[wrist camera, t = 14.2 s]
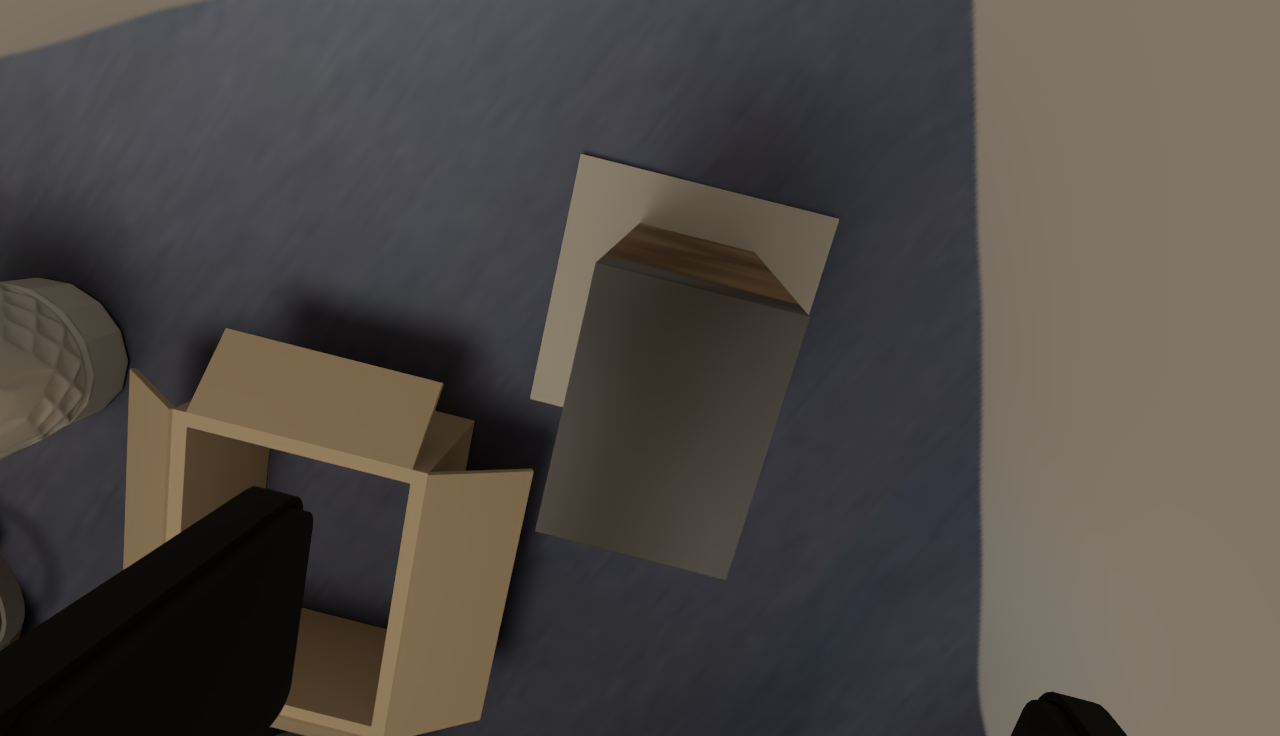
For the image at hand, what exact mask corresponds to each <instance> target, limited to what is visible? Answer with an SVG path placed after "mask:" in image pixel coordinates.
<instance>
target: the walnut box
mask: <svg viewBox="0 0 1280 736" xmlns="http://www.w3.org/2000/svg"><path fill="white" fill-rule="evenodd" d="M809 321H810V316H809V315H808V314H807V313H806V312H805V310H804V309H803V308H802V307H801V306H800V305H799V303H798V302H797V301H796V300H795V299H794V297H793V296H792V295H791V294H790V293H789V292H788V290H787V289H786V288H785V287H784V286H783V285H782V283H781V282H780V281H779V280H778V279H777V278H776V276H775V275H774V274H773V273H772V272H771V271H770V269H769V268H768V267H767V266H766V265H765V264H764V262H763V261H762V260H761V259H760V258H759V257H758V255H757V254H756V253H755V252H752V251H748V250H744V249H740V248H736V247H732V246H728V245H725V244H721V243H717V242H713V241H709V240H705V239H701V238H697V237H693V236H689V235H685V234H681V233H678V232H674V231H670V230H666V229H662V228H658V227H654V226H650V225H646V224H642V223H639V224H638V225H637V226H636V227H635V228H633V229H632V230H631V231H630V232H629V233H628V234H627V235H626V236H625V237H623V238H622V239H621V240H620V241H619V242H618V243H617V244H616V245H615V246H613V247H612V248H611V249H610V250H609V251H608V252H607V253H606V254H605V255H603V256H602V257H601V258H600V259H599V260H598V261H597V262H596V263H595V268H594V272H593V276H592V281H591V285H590V290H589V294H588V299H587V303H586V308H585V312H584V316H583V321H582V325H581V330H580V334H579V339H578V343H577V347H576V352H575V356H574V361H573V365H572V370H571V374H570V378H569V383H568V387H567V392H566V396H565V401H564V405H563V409H562V414H561V418H560V423H559V427H558V432H557V436H556V440H555V445H554V449H553V454H552V458H551V463H550V467H549V472H548V476H547V480H546V485H545V489H544V494H543V498H542V503H541V507H540V511H539V516H538V520H537V525H536V529H535V531H536V532H540V533H544V534H548V535H552V536H556V537H560V538H564V539H567V540H571V541H575V542H579V543H583V544H587V545H591V546H595V547H599V548H603V549H606V550H610V551H614V552H618V553H622V554H626V555H630V556H634V557H638V558H642V559H645V560H649V561H653V562H657V563H661V564H665V565H669V566H673V567H677V568H681V569H684V570H688V571H692V572H696V573H700V574H704V575H708V576H712V577H716V578H720V579H723V580H726V579H727V576H728V573H729V569H730V566H731V563H732V560H733V557H734V554H735V551H736V548H737V545H738V541H739V538H740V535H741V532H742V529H743V526H744V523H745V520H746V517H747V513H748V510H749V507H750V504H751V501H752V498H753V495H754V492H755V489H756V485H757V482H758V479H759V476H760V473H761V470H762V467H763V464H764V461H765V457H766V454H767V451H768V448H769V445H770V442H771V439H772V436H773V433H774V429H775V426H776V423H777V420H778V417H779V414H780V411H781V408H782V405H783V401H784V398H785V395H786V392H787V389H788V386H789V383H790V380H791V377H792V373H793V370H794V367H795V364H796V361H797V358H798V355H799V352H800V349H801V345H802V342H803V339H804V336H805V333H806V330H807V327H808V324H809Z"/></svg>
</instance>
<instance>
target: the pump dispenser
mask: <svg viewBox="0 0 1280 736" xmlns="http://www.w3.org/2000/svg"><path fill="white" fill-rule="evenodd" d="M275 736H305V735H301V734H297V733H293V732H289V731H287V732H284V733H281V734H278V735H275Z"/></svg>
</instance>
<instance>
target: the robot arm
mask: <svg viewBox="0 0 1280 736" xmlns="http://www.w3.org/2000/svg"><path fill="white" fill-rule="evenodd" d="M312 528H313V516H312V514H311V513H310V512H308V511H304V510H303V504H302V500H301V499H300V498H299V497H297V496H293V495H289V494H285V493H281V492H277V491H274V490H270V489H266V488H262V487H257V486H252V487H250V488H248V489H246V490H244V491H243V492H241V493H240V494H238V495H237V496H235V497H234V498H232V499H231V500H229V501H228V502H226V503H225V504H223V505H222V506H220V507H218V508H217V509H215V510H214V511H212V512H211V513H209V514H208V515H206V516H205V517H203V518H202V519H200V520H199V521H197V522H196V523H194V524H193V525H191V526H190V527H188V528H187V529H185V530H183V531H182V532H180V533H179V534H177V535H176V536H174V537H173V538H171V539H170V540H168V541H167V542H165V543H164V544H162V545H161V546H159V547H158V548H156V549H155V550H153V551H152V552H150V553H148V554H147V555H145V556H144V557H142V558H141V559H139V560H138V561H136V562H135V563H133V564H132V565H130V566H129V567H127V568H126V569H124V570H123V571H121V572H120V573H118V574H116V575H115V576H113V577H112V578H110V579H109V580H107V581H106V582H104V583H103V584H101V585H100V586H98V587H97V588H95V589H94V590H92V591H91V592H89V593H88V594H86V595H85V596H83V597H81V598H80V599H78V600H77V601H75V602H74V603H72V604H71V605H69V606H68V607H66V608H65V609H63V610H62V611H60V612H59V613H57V614H56V615H54V616H53V617H51V618H49V619H48V620H46V621H45V622H43V623H42V624H40V625H39V626H37V627H36V628H34V629H33V630H31V631H30V632H28V633H27V634H25V635H24V636H22V637H21V638H19V639H18V640H16V641H14V642H13V643H11V644H10V645H8V646H7V647H5V648H4V649H2V650H1V651H0V736H263V735H264V734H265V732H266V731H267V730H268V729H269V727H270V726H271V725H272V724H273V722H274V721H275V720H276V718H277V717H278V715H279V714H280V712H281V711H282V709H283V707H284V705H285V703H286V701H287V698H288V695H289V693H290V689H291V684H292V677H293V670H294V662H295V655H296V647H297V640H298V632H299V625H300V617H301V610H302V602H303V595H304V588H305V580H306V573H307V565H308V558H309V550H310V543H311V535H312ZM1011 736H1127V735H1126V734H1125V732H1124V731H1123V730H1122V729H1121V728H1120V726H1119V725H1118V724H1117V723H1116V721H1115V720H1114V719H1113V718H1112V716H1111V715H1110V714H1109V713H1108V712H1107V711H1106V710H1105V709H1104V708H1103V707H1102V706H1101V705H1099V704H1096V703H1093V702H1089V701H1086V700H1082V699H1078V698H1074V697H1070V696H1067V695H1063V694H1059V693H1055V692H1047V693H1045V694H1043V695H1042V696H1041V697H1039V699H1038V700H1031V701H1030V702H1028V703H1027V704H1026V706H1025V707H1024V709H1023V711H1022V713H1021V715H1020V717H1019V719H1018V721H1017V724H1016V726H1015V728H1014V730H1013V732H1012V734H1011Z"/></svg>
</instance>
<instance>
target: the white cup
mask: <svg viewBox="0 0 1280 736" xmlns="http://www.w3.org/2000/svg"><path fill="white" fill-rule="evenodd" d="M127 365H128V358H127V354H126V350H125V346H124V342H123V338H122V334H121V331H120V329H119V328H118V327H117V325H116V324H115V322H114V321H113V320H112V318H111V317H110V315H109V314H108V313H107V311H106V310H105V309H104V307H103V306H102V304H101V303H100V302H98V301H97V300H95V299H94V298H92V297H91V296H89V295H88V294H86V293H85V292H83V291H82V290H80V289H79V288H77V287H76V286H74V285H72V284H70V283H64V282H59V281H54V280H49V279H44V278H29V279H21V280H12V281H3V282H0V460H1V459H3V458H6V457H8V456H10V455H12V454H14V453H15V452H17V451H19V450H20V449H23V448H25V447H28V446H30V445H32V444H34V443H36V442H38V441H40V440H43V439H45V438H46V437H48V436H50V435H51V434H53V433H55V432H56V431H58V430H59V429H61V428H63V427H65V426H67V425H69V424H71V423H74V422H76V421H78V420H80V419H83V418H85V417H87V416H89V415H92V414H94V413H96V412H98V411H101V410H103V409H104V408H105V407H106V406H107V405H108V404H109V403H110V402H111V401H112V400H113V399H114V398H115V397H116V395H117V394H118V393H119V392H120V391H121V390H122V389H123V384H124V379H125V375H126V370H127Z"/></svg>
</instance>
